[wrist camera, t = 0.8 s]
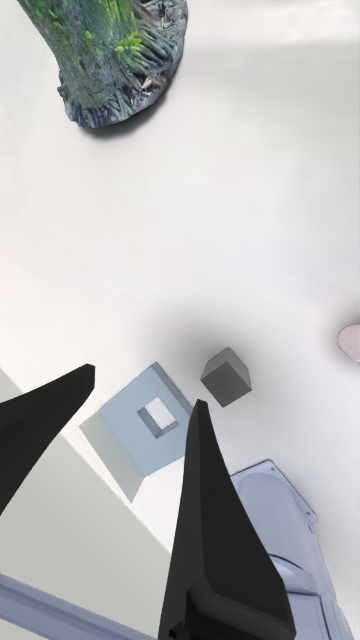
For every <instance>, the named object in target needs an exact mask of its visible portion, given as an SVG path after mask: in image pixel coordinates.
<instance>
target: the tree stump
mask: <svg viewBox="0 0 360 640" xmlns="http://www.w3.org/2000/svg"><path fill="white" fill-rule="evenodd" d="M17 1H18V2H19V4H20V5H21V7H22V8H23V10H24V11H25V12H26V14H27V15H28V17H29V18H30V20H31V21H32V23H33V24H34V25H35V27H36V28H37V30H38V31H39V32H40V34H41V35H42V37H43V38H44V39H45V41H46V42H47V44H48V46H49V47H50V49H51V51H52V52H53V53H54V55H55V57H56V60H57V62H58V65H59V68H60V71H59V78H60V82H61V85H62V86H60V87H57V90H58V92H59V94H60V96H61V97H63V101H64V104H65V112H66V114H67V116H68V118H69V119H70V120H71V121H75V122H76V123H78V125H79V126H83V127H86V126H87V127H92V128H99V127H100V126H107V125H112V124H116V123H120V122H122V121H124V120H126V119H128V118H130V117H132V116H133V115H135V114H137V113H139V112H141V111H142V110H144V109H146V108H148V107H150V106H152V105H153V104H154V103H155V102H156V101H157V100H158V99H159V97H160V96H161V95H162V94H163V92H164V91H165V90H166V89H167V87H168V85H169V82H170V80H171V78H172V76H173V73H174V71H175V69H176V67H177V65H178V63H179V61H180V59H181V57H182V51H183V38H184V35H185V31H186V28H187V20H188V10H187V4H186V0H17Z"/></svg>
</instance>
